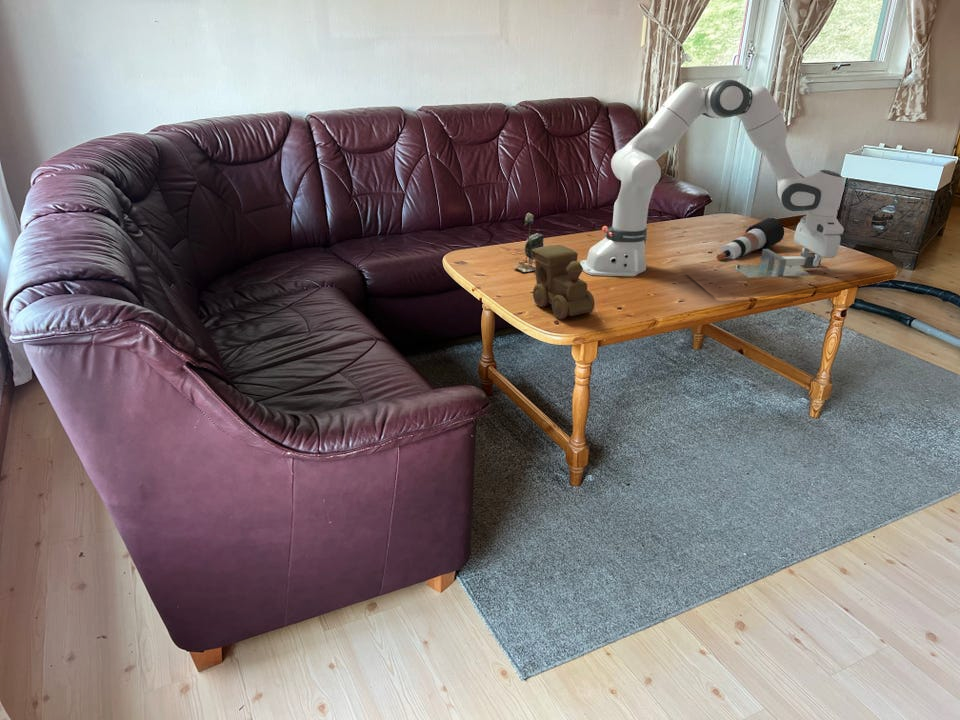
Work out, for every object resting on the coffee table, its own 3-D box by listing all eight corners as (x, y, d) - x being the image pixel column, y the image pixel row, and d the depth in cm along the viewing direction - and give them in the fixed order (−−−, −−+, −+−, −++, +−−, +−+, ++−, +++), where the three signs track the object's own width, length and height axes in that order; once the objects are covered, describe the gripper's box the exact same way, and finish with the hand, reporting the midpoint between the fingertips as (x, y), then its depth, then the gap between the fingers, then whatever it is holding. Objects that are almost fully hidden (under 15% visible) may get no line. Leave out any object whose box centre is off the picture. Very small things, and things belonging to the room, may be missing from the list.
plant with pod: (549, 269, 230) (552, 211, 221) (520, 274, 226) (522, 215, 217) (537, 263, 237) (539, 206, 228) (509, 267, 232) (510, 209, 224)
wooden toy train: (527, 301, 203) (528, 248, 196) (558, 295, 208) (561, 243, 201) (564, 324, 187) (567, 267, 180) (597, 317, 192) (602, 261, 185)
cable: (711, 273, 240) (702, 247, 239) (764, 246, 257) (755, 221, 256) (735, 267, 231) (726, 240, 230) (787, 240, 249) (779, 214, 247)
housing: (747, 280, 220) (751, 260, 217) (731, 268, 231) (734, 250, 228) (811, 277, 222) (815, 258, 219) (792, 266, 233) (796, 247, 230)
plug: (784, 268, 222) (787, 257, 220) (778, 265, 226) (781, 253, 224) (819, 268, 223) (821, 256, 221) (812, 264, 227) (815, 252, 225)
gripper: (793, 214, 227) (785, 253, 233) (828, 230, 209) (817, 273, 215) (811, 214, 228) (802, 253, 234) (847, 230, 210) (836, 272, 216)
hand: (810, 263), depth 224 cm, fingers closed on plug, 4 cm apart
